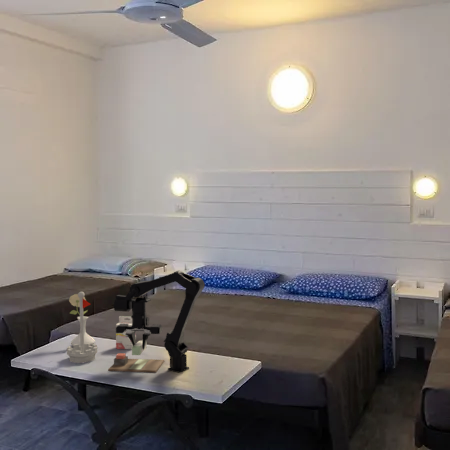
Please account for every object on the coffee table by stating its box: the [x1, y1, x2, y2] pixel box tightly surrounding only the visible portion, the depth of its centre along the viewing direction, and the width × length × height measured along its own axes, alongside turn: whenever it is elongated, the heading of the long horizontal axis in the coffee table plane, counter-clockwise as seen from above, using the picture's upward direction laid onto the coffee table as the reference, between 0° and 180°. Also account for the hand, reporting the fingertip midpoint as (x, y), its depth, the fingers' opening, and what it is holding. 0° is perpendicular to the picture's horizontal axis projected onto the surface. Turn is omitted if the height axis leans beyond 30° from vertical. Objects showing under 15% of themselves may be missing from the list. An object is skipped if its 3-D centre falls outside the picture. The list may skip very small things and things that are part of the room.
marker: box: [131, 340, 148, 356], centre depth 237 cm, size 11×3×3 cm, turn 173°
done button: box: [115, 352, 127, 359], centre depth 238 cm, size 3×3×2 cm
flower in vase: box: [68, 293, 96, 347], centre depth 269 cm, size 13×11×25 cm
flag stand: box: [66, 291, 98, 364], centre depth 247 cm, size 13×13×30 cm
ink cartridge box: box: [115, 315, 137, 350], centre depth 266 cm, size 9×5×15 cm, turn 84°
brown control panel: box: [107, 355, 165, 373], centre depth 237 cm, size 20×15×3 cm
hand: (139, 349), depth 237 cm, fingers closed on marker, 3 cm apart
